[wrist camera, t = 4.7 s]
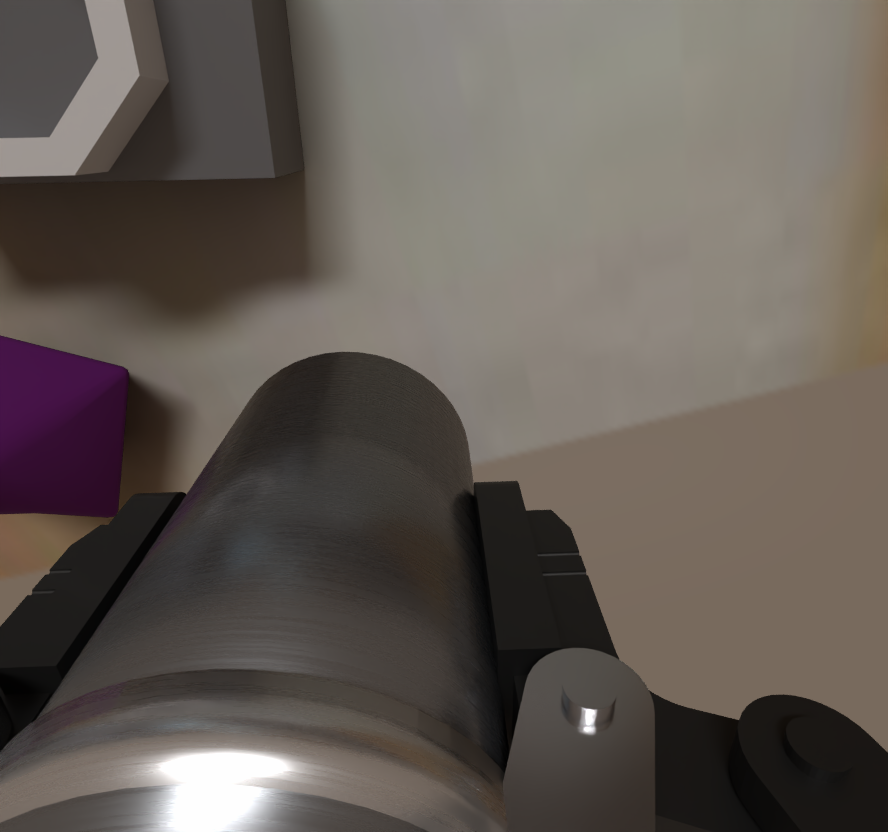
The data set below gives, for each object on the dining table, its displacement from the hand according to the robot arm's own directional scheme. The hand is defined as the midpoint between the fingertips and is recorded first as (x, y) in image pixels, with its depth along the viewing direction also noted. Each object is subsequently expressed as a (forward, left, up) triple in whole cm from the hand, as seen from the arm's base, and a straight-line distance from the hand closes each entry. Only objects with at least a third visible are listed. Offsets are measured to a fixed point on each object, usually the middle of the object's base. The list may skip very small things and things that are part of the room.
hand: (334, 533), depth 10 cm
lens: (0, 0, -2) cm, 2 cm away
